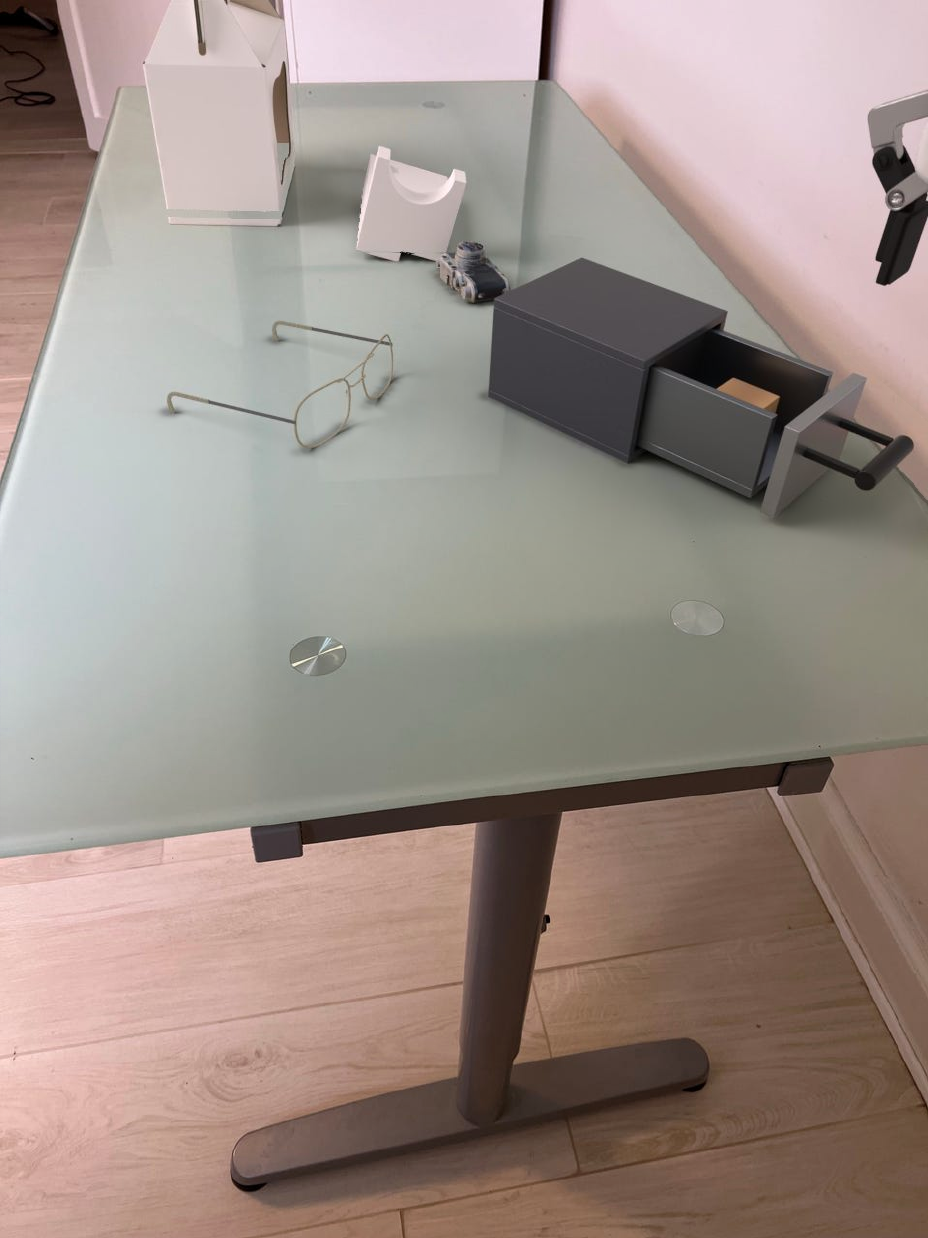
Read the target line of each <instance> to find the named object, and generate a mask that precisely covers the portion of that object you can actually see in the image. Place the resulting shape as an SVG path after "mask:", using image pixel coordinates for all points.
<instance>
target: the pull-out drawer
mask: <svg viewBox="0 0 928 1238" xmlns="http://www.w3.org/2000/svg"><path fill="white" fill-rule="evenodd" d="M833 375H834V372H833V371H831V370H829V369H826V368H823V367H820V366H818V365H816V364H813V363H810V362H807V361H804V360H802V359H799V358H797V357H795V356H792V355H789V354H786V353H783V352H782V351H779V350H776V349H774V348H770V347H768V346H766V345H764V344H763V345H762V344H760V343H757V342H755V341H752V340H750V339H747V338H744V337H742V336H739V335H736V334H735V333H731V332H729V331H726V330H724V331H723V330H721V329H718V328H716V327H713V328H711V329H710V330H708V331H706V332H705V333H703V334H701V335H700V336H698V337H697V338H695V339H693V340H692V341H690V342H688V343H687V344H685V345H684V346H682V347H680V348H679V349H677V350H675V351H674V352H672V353H670V354H669V355H667V356H666V357H664V358H662V359H661V360H659V361H657V362H656V363H654V364H653V365H651V366H649V372H648V377H647V383H646V388H645V394H644V400H643V405H642V411H641V416H640V422H639V428H638V433H637V439H636V444H635V445H637V446H639V447H641V448H643V449H645V450H646V451H648V452H650V453H651V454H654V455H656V456H658V457H660V458H663V459H664V460H667V461H669V462H672V463H673V464H675V465H678V466H680V467H682V468H684V469H686V470H688V471H690V472H693V473H694V474H697V475H699V476H702V477H703V478H706V479H708V480H710V481H711V482H714V483H716V484H718V485H721V486H723V487H725V488H727V489H729V490H732V491H734V492H736V493H738V494H740V495H742V496H744V497H747V498H749V499H751V498H752V497H754V496H755V495H756V494H757V493H758V492H760V491H761V490H762V489H764V487H766V489H765V492H764V497H763V500H762V503H761V507H760V510H759V512H760V513H761V514H763V515H765V516H767V517H769V518H771V519H774V518H775V517H776V516H778V515H779V514H780V513H781V512H782V511H783V510H784V509H786V508H787V507H788V506H789V505H790V504H792V502H793V501H795V500H796V499H797V498H798V497H799V496H800V495H801V494H803V493H804V492H805V491H806V490H807V489H808V488H809V487H811V486H812V485H813V484H814V483H815V482H816V481H817V480H819V479H820V478H821V477H822V475H824V474H825V473H826V472H827V471H829V470H830V469H831V470H833V471H835V472H838V473H840V474H843V475H845V476H847V477H849V478H852V479H854V484H855V486H856V487H857V488H858V489H859V490H861V491H867V492H868V491H872V490H873V489H875V488H876V486H878V485H879V484H880V482H882V481H883V480H884V479H885V478H886V477H887V476H888V475H889V474H890V473H891V472H892V471H893V470H894V469H895V468H896V467H897V466H898V465H900V463H901V462H902V461H903V460H904V459H905V458H907V456H909V455H910V454H911V453H912V452H913V450H914V447H915V444H914V440H913V439H912V438H911V437H910V436H908V435H904V434H901V435H897V436H896V437H892V436H889V435H886V434H883V433H881V432H879V431H876V430H874V429H871V428H869V427H867V426H864V425H862V424H859V423H856V422H854V421H853V420H854V417H855V415H856V411H857V409H858V405H859V403H860V400H861V397H862V395H863V392H864V388H865V387H866V386H865V385H866V383H867V379H868V378H867V377H866V376H863V375H860V374H858V373H855V372H853V373H851V374H849V376H847V377H846V378H845V379H843V380H842V381H840V383H838V384H837V385H836V386H835V387H833V388H832V389H831V390H829V387H830V384H831V380H832V377H833ZM732 378H736V379H738V380H740V381H743V382H745V383H748V384H750V385H753V386H755V387H758V388H760V389H763V390H765V391H768V392H770V393H773V394H775V395H778V396H780V398H779V402H778V405H777V409H776V412H775V413H772V412H770V411H768V410H765V409H763V408H760V407H758V406H756V405H753V404H751V403H748V402H746V401H743V400H741V399H739V398H736V397H734V396H731V395H729V394H727V393H724V392H722V391H719V390H717V388H719V387H720V386H721V385H723V384H724V383H726V382H727V381H729V380H730V379H732ZM828 390H829V391H828ZM849 432H850V433H851V434H852V433H853V434H855V435H857V436H860V437H862V438H864V439H867V440H869V441H872V442H874V443H877V444H879V445H882V446H884V448H883V449H881V450H880V452H878V454H877V455H875V456H874V457H873V458H872V459H871V460H870V461H868V462H867V463H866V464H865V466H863V467H862V468H861V469H860V468H858V467H856V466H854V465H851V464H849V463H846V462H844V461H841V460H840V459H841V454H842V453H843V449H844V446H845V443H846V440H847V438H848V435H849Z"/></svg>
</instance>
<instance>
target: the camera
mask: <svg viewBox="0 0 928 1238" xmlns="http://www.w3.org/2000/svg"><path fill="white" fill-rule="evenodd" d="M436 266H437V267H440V268H437V267H436ZM435 268H436V269H438V270H439V277H440V279H441V280H442V281H443V282H444V283H445V284H446V285H449V286H450V289H453V290H455V291H457V292H458V293H460V295H461V298H462V300H465V301H466V300H468V301H469V302H470V303H474V304H475V303H482V302H489V301H494V298H496V297H498V296H500V295H503V294H505V293H507V292H509V291H511V287H510V282H509V279H508V277H506V276H505V274H504V273H502V272H501V271H500V270H499V269H498V266H497V265H495V264H494V263H493V262H492V261H491V259H490V258H489V256H488V254H487V252H486V248H485V246H484V245H483V244H482V243H478V242H475V241H473V240H471V241H470V240H466V241H461V242H459V243H457V247H456V251H452V252H446V253H444V254H442V256H441V257H440V258H439V260H438V261H435ZM445 275H446V276H447V277H448V278H447V277H446V276H445Z"/></svg>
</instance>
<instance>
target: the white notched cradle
mask: <svg viewBox="0 0 928 1238" xmlns="http://www.w3.org/2000/svg"><path fill="white" fill-rule="evenodd" d="M391 151H392V150H391V148H387V147H385V146H380V145H378V148H377V153H376V154H373V153H370V156H369V160H368V165H367V170H366V174H365V178H364V183H363V186H364V187H362V191H363V195H362V194H361V198H362V204H361V203H360V208H361V214H360V213H359V218H360V222H359V221H358V228H359V231H358V230H357V231H358V232H357V238H358V241H357V240H356V248H357V249H356V251H357V250H377V251H378V250H379V251H390V252H401V253H366V254H367V255H372V256H375V257H377V258H378V257H379V258H381V259H386V260H388V261H393V262H399V261H400V259H401V254H402V252H403V253H406V252H419V253H431V252H432V253H433V252H446V253H447V251H448V247H449V244H450V240H451V238H452V234H453V230H454V227H455V223H456V220H457V216H458V214H459V210H460V207H461V203H462V200H463V197H464V194H465V189H466V186H467V175H466V171H463V170H460V169H457V168H453V170H452V172H451V174H450V176H449V177H448V176H446V175H443V174H439V173H436V172H433V171H429V170H426V169H423V168H419V167H416V166H413V165H410V164H406V163H403V162H400V161H397V160H394V159H391ZM412 255H413V256H417V257H421V258H424V259H428V260H430V261H435V262H436V261H438V260H439V258H440V257H441V256H442V254H412Z"/></svg>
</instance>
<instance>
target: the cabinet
mask: <svg viewBox="0 0 928 1238" xmlns="http://www.w3.org/2000/svg"><path fill="white" fill-rule="evenodd" d="M492 308H493V310H492V324H491V325H492V327H491V328H492V329H491V346H490V360H489V361H490V362H489V379H488V380H489V381H488V398H490V399H491V400H493V401H497V402H498V403H499V404H503V405H504V406H506V407H508V408H511V409H512V410H515V411H516V412H519V413H521V414H523V415H526V416H528V417H530V418H531V419H534V420H535V421H538V422H540V423H543V424H544V425H546V426H548V427H550V428H553V429H555V430H557V431H559V432H561V433H563V434H565V435H567V436H569V437H572V438H573V439H576V440H577V441H580V442H581V443H584V444H586V445H588V446H590V447H592V448H595V449H596V450H598V451H600V452H602V453H604V454H607V455H609V456H611V457H613V458H615V459H617V460H619V461H622V462H623V463H626V464H629V463H631V462H632V461H633V460H636V458H638V457H639V456H641V455H642V454H644V453H645V452H646V451H647V450H645V449H643V448H641V447H639V446H637V445H635V444H636V439H637V433H638V428H639V422H640V416H641V411H642V405H643V400H644V394H645V388H646V383H647V377H648V372H649V366H651V365H653V364H654V363H656V362H657V361H659V360H661V359H662V358H664V357H666V356H667V355H669V354H670V353H672V352H674V351H675V350H677V349H679V348H680V347H682V346H684V345H685V344H687V343H688V342H690V341H692V340H693V339H695V338H697V337H698V336H700V335H701V334H703V333H705V332H706V331H708V330H710V329H711V328H713V327H716V328H718V329H721V330H723V331H725V326H726V322H727V318H728V317H727V316H728V310H726V309H723V308H720V307H717V306H715V305H713V304H710V303H706V302H704V301H701V300H698V299H695V298H694V297H690V296H687V295H685V294H682V293H679V292H677V291H674V290H672V289H668V288H666V287H664V286H662V285H661V286H660V285H658V284H655V283H652V282H649V281H647V280H644V279H641V278H638V277H636V276H634V275H630V274H628V273H625V272H622V271H619V270H617V269H614V268H612V267H609V266H606V265H603V264H601V263H598V262H595V261H592V260H590V259H588V258H584V257H580V258H578V259H575V260H573V261H571V262H569V263H567V264H565V265H562V266H560V267H558V268H556V269H554V270H552V271H550V272H548V273H545V274H544V275H543V274H542V275H541V276H539V277H537V278H535V279H533V280H530V281H528V282H526V283H524V284H522V285H520V286H518V287H515V288H513V289H512V290H511V289H510V291H509V292H507V293H505V294H503V295H500V296H498V297H496V298H494V300H493V307H492Z"/></svg>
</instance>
